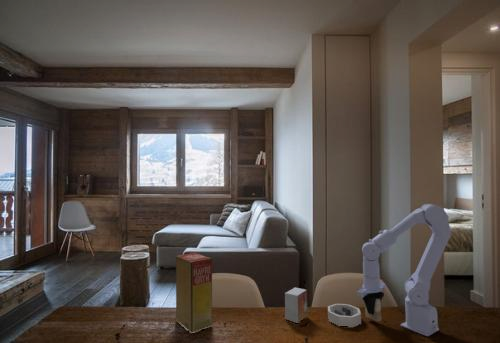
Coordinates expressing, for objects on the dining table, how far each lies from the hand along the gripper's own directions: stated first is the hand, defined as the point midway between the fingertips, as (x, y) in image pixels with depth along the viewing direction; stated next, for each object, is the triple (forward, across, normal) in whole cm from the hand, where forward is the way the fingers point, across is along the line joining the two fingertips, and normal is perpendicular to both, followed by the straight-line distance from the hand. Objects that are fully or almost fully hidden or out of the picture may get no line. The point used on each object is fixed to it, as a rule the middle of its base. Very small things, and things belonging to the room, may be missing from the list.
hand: (373, 312), depth 111 cm
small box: (+3, +21, -19) cm, 28 cm away
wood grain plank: (+2, 0, 0) cm, 2 cm away
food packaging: (+3, +55, -38) cm, 67 cm away
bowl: (+3, +7, -8) cm, 11 cm away
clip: (+3, +7, -8) cm, 11 cm away
